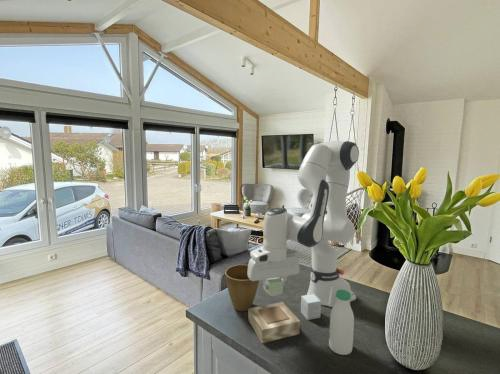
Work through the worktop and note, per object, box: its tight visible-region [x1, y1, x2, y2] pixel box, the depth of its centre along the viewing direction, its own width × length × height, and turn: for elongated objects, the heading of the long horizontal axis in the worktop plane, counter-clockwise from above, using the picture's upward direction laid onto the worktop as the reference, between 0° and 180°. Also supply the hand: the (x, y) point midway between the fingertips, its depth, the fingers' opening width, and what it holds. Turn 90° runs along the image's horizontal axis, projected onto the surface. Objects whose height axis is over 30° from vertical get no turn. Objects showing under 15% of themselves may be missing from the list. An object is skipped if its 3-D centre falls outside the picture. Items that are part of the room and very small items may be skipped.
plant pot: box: [224, 264, 260, 312], centre depth 116 cm, size 15×15×16 cm
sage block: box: [264, 277, 284, 297], centre depth 102 cm, size 5×5×5 cm
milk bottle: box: [328, 290, 355, 356], centre depth 92 cm, size 8×8×20 cm
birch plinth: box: [247, 301, 301, 344], centre depth 104 cm, size 15×14×5 cm
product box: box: [300, 294, 322, 321], centre depth 112 cm, size 6×6×7 cm
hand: (273, 287), depth 102 cm, fingers closed on sage block, 5 cm apart
